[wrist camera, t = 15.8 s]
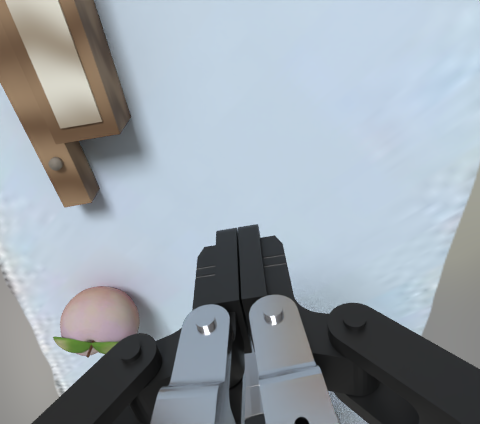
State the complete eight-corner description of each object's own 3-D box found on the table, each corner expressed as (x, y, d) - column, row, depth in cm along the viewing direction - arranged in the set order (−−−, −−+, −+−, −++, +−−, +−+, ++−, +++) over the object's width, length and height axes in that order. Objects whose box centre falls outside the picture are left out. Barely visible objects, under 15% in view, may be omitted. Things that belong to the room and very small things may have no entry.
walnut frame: (131, 116, 38) (119, 134, 33) (74, 125, 38) (55, 145, 34) (68, -82, 29) (41, -92, 25) (-5, -68, 30) (-45, -75, 25)
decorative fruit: (138, 264, 48) (120, 326, 39) (150, 309, 52) (136, 373, 44) (65, 270, 48) (31, 333, 39) (83, 314, 52) (57, 380, 44)
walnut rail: (99, 188, 42) (90, 205, 39) (73, 193, 42) (62, 210, 39) (-65, -186, 26) (-104, -207, 23) (-106, -176, 26) (-149, -196, 23)
